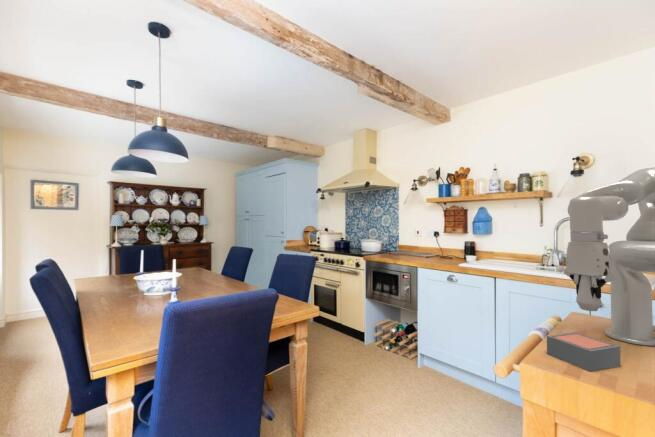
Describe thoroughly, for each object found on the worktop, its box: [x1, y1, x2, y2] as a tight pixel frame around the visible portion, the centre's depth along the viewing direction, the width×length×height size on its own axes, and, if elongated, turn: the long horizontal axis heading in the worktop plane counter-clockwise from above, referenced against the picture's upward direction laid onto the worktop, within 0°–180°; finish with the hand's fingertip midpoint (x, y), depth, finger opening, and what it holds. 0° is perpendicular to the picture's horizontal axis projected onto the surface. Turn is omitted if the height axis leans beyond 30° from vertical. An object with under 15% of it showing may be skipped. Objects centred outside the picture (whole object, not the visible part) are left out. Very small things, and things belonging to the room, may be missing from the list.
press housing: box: [546, 331, 621, 372], centre depth 82 cm, size 11×11×5 cm
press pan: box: [554, 334, 612, 350], centre depth 82 cm, size 9×9×1 cm
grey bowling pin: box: [575, 275, 602, 312], centre depth 91 cm, size 6×6×13 cm
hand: (588, 298), depth 91 cm, fingers closed on grey bowling pin, 3 cm apart
